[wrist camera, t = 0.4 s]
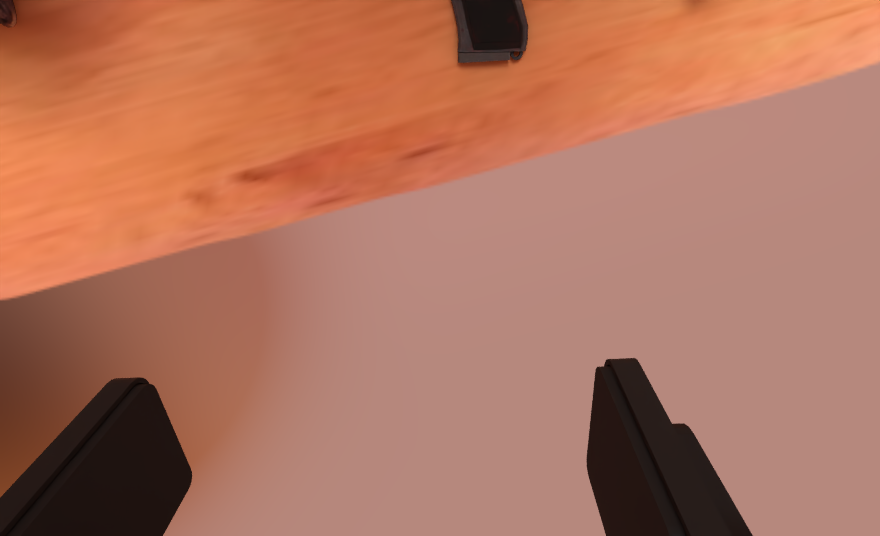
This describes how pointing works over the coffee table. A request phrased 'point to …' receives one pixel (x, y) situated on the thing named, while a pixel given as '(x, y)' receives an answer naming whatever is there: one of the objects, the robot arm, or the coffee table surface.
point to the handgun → (490, 29)
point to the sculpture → (7, 13)
